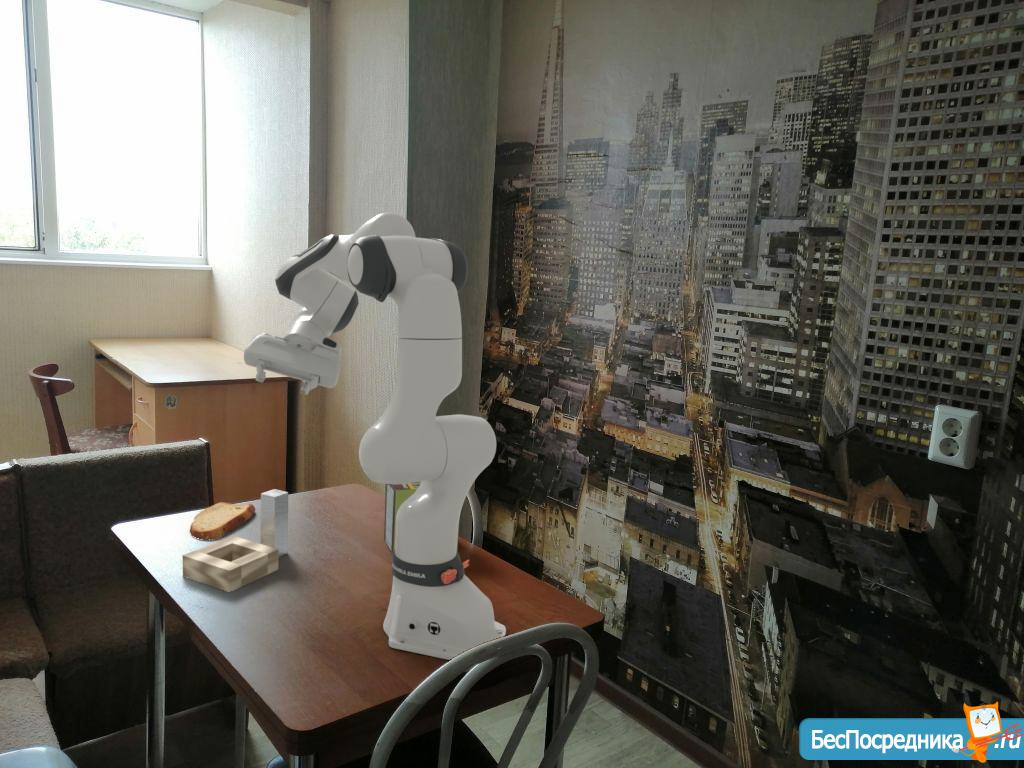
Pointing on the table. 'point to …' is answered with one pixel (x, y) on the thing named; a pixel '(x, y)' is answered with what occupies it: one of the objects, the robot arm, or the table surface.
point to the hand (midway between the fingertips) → (281, 385)
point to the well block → (230, 563)
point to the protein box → (396, 508)
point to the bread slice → (220, 520)
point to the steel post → (275, 520)
